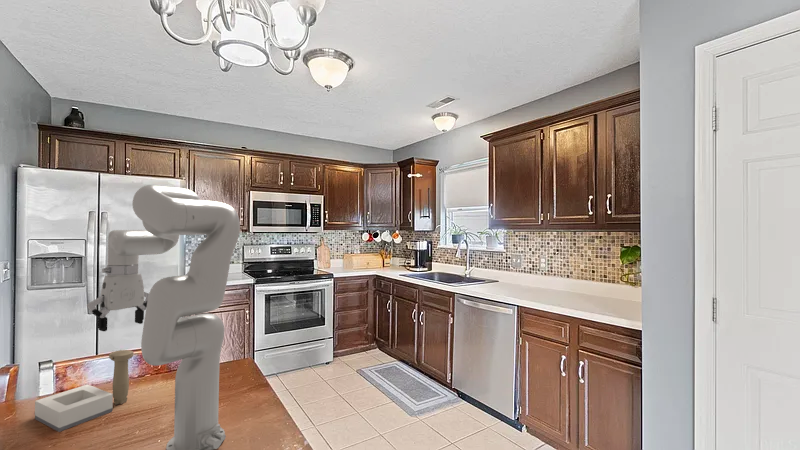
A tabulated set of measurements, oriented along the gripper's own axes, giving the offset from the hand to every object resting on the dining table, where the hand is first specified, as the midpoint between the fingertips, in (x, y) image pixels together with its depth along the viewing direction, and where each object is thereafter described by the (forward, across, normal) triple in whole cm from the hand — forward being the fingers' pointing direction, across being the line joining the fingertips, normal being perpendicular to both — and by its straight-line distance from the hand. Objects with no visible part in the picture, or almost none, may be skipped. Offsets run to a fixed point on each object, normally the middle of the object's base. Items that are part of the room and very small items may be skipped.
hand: (121, 326), depth 111 cm
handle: (+23, 0, -1) cm, 23 cm away
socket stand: (+23, -10, +2) cm, 25 cm away
